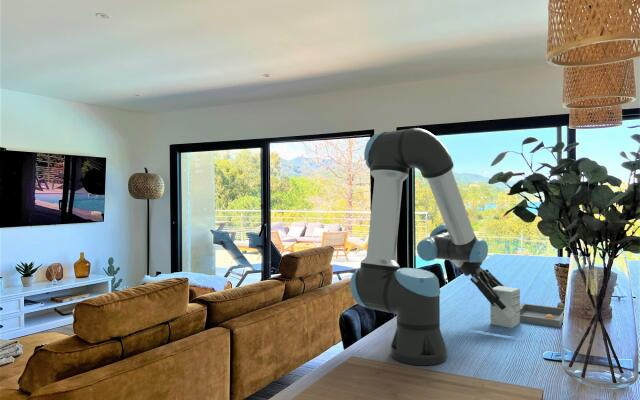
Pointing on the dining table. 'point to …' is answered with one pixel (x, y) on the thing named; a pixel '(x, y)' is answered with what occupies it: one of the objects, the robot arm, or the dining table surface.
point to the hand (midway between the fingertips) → (515, 313)
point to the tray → (541, 315)
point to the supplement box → (512, 300)
